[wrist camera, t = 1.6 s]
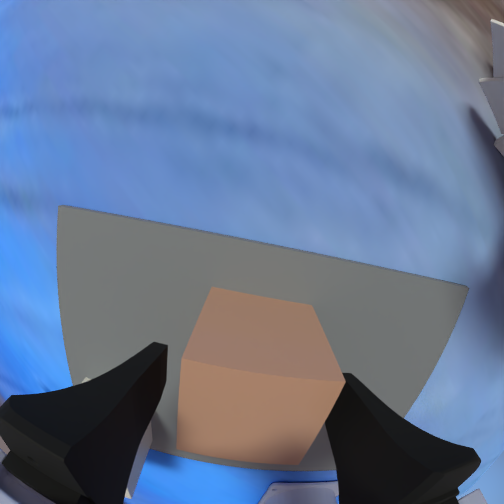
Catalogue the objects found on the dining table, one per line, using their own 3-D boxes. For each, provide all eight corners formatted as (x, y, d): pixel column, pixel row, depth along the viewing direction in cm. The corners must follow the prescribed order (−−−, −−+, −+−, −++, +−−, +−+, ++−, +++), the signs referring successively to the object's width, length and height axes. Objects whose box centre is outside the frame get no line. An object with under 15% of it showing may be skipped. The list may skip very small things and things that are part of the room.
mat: (363, 463, 18) (364, 467, 17) (86, 420, 17) (84, 423, 16) (464, 285, 14) (469, 288, 13) (63, 205, 13) (58, 205, 12)
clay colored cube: (286, 381, 14) (298, 464, 9) (199, 367, 14) (176, 449, 8) (312, 305, 13) (345, 381, 7) (211, 286, 13) (181, 358, 7)
